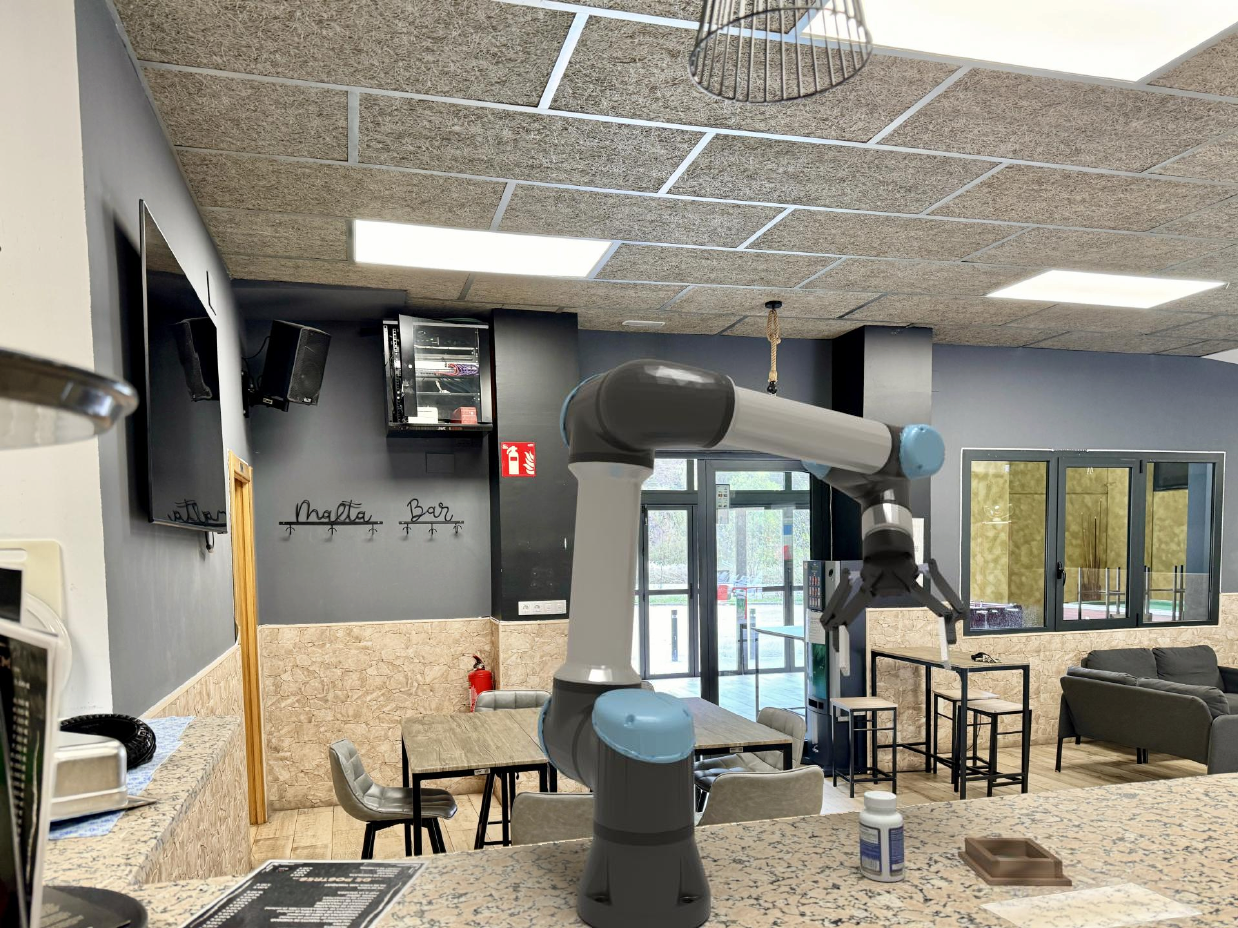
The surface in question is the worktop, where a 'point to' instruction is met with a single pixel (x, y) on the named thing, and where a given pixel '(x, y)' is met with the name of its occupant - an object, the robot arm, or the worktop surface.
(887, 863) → the pill bottle
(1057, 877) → the socket block
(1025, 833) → the worktop surface
